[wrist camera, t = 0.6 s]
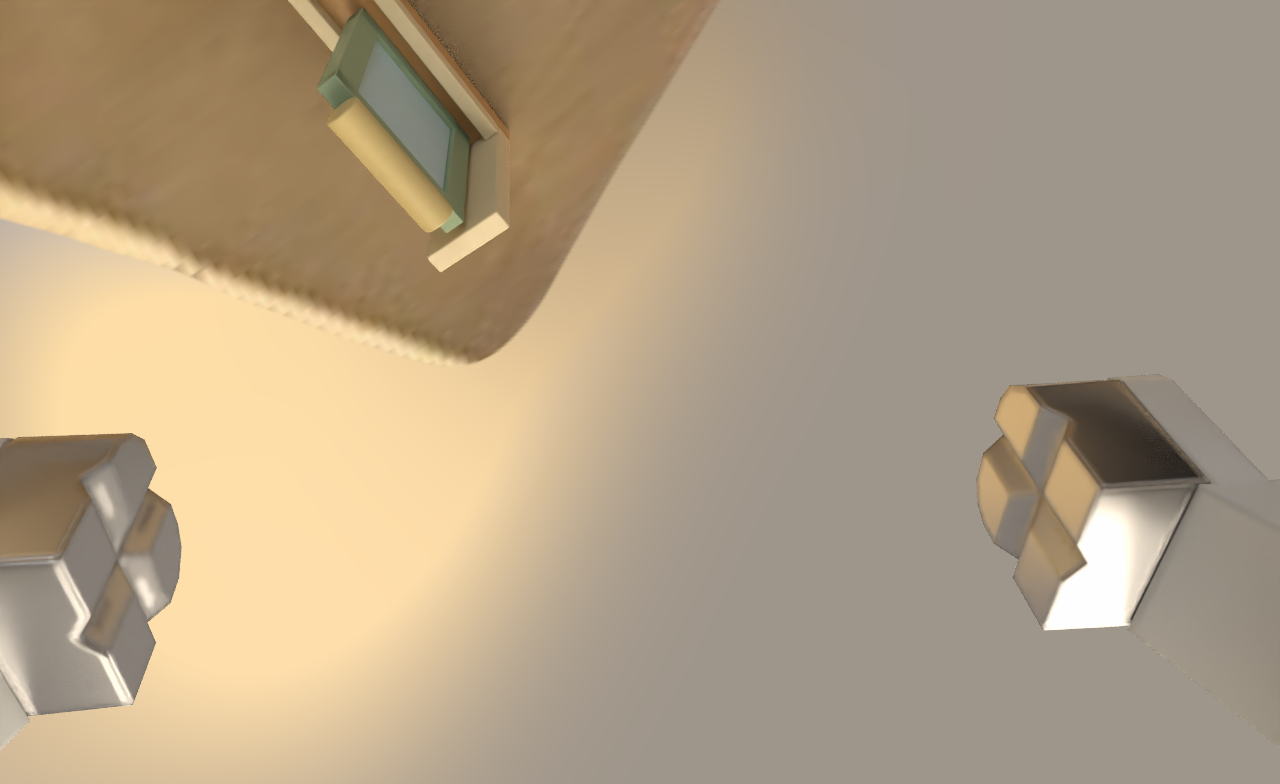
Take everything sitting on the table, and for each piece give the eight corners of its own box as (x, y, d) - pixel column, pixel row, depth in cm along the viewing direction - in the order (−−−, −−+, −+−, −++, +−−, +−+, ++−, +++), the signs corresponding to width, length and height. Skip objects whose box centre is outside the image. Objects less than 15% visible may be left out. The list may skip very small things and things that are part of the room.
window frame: (451, 171, 52) (440, 273, 44) (189, -139, 42) (106, -86, 33) (509, 131, 51) (510, 227, 43) (255, -196, 41) (188, -158, 32)
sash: (450, 151, 50) (438, 255, 41) (342, 21, 45) (303, 107, 37) (474, 134, 49) (468, 236, 41) (368, 2, 45) (335, 84, 36)
